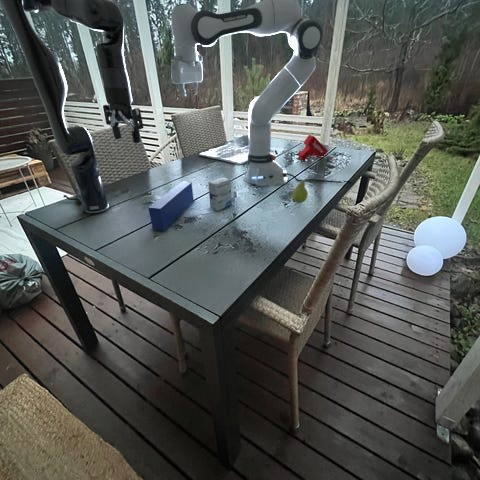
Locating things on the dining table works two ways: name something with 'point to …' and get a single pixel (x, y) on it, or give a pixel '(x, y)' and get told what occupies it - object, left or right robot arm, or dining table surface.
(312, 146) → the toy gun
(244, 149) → the relief map
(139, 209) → the dining table surface
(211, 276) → the dining table surface
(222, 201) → the ink box
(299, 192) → the fruit
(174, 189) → the bar
